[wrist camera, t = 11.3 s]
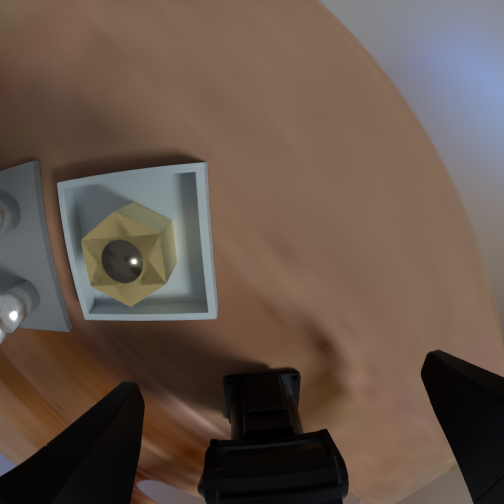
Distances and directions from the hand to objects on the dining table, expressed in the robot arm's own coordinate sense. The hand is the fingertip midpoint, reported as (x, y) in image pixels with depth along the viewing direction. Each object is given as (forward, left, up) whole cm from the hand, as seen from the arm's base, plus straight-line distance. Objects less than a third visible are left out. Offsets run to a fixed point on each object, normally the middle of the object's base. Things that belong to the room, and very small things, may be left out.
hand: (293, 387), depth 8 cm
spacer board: (+1, +23, -13) cm, 26 cm away
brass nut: (+1, +8, -13) cm, 15 cm away
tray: (+1, +8, -13) cm, 15 cm away
